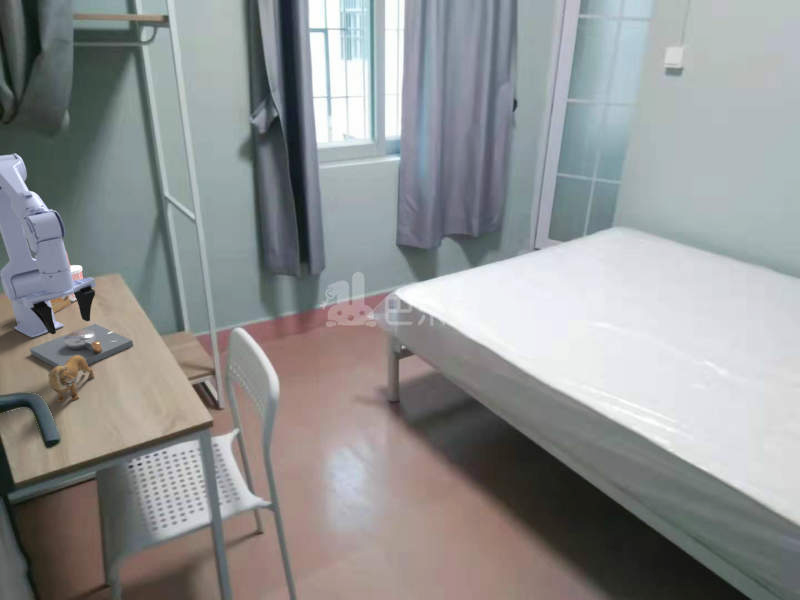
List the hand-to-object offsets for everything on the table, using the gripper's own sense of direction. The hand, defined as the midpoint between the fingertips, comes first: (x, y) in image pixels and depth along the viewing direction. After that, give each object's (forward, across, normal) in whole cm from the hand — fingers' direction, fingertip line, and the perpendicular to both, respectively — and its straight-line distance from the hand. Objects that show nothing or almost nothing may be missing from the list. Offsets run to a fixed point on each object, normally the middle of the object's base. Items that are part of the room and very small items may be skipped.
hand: (69, 326), depth 127 cm
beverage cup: (+10, +20, +38) cm, 44 cm away
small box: (+10, +12, +36) cm, 39 cm away
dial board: (+10, +4, +6) cm, 12 cm away
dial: (+8, +4, +3) cm, 9 cm away
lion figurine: (+10, -7, -11) cm, 16 cm away
